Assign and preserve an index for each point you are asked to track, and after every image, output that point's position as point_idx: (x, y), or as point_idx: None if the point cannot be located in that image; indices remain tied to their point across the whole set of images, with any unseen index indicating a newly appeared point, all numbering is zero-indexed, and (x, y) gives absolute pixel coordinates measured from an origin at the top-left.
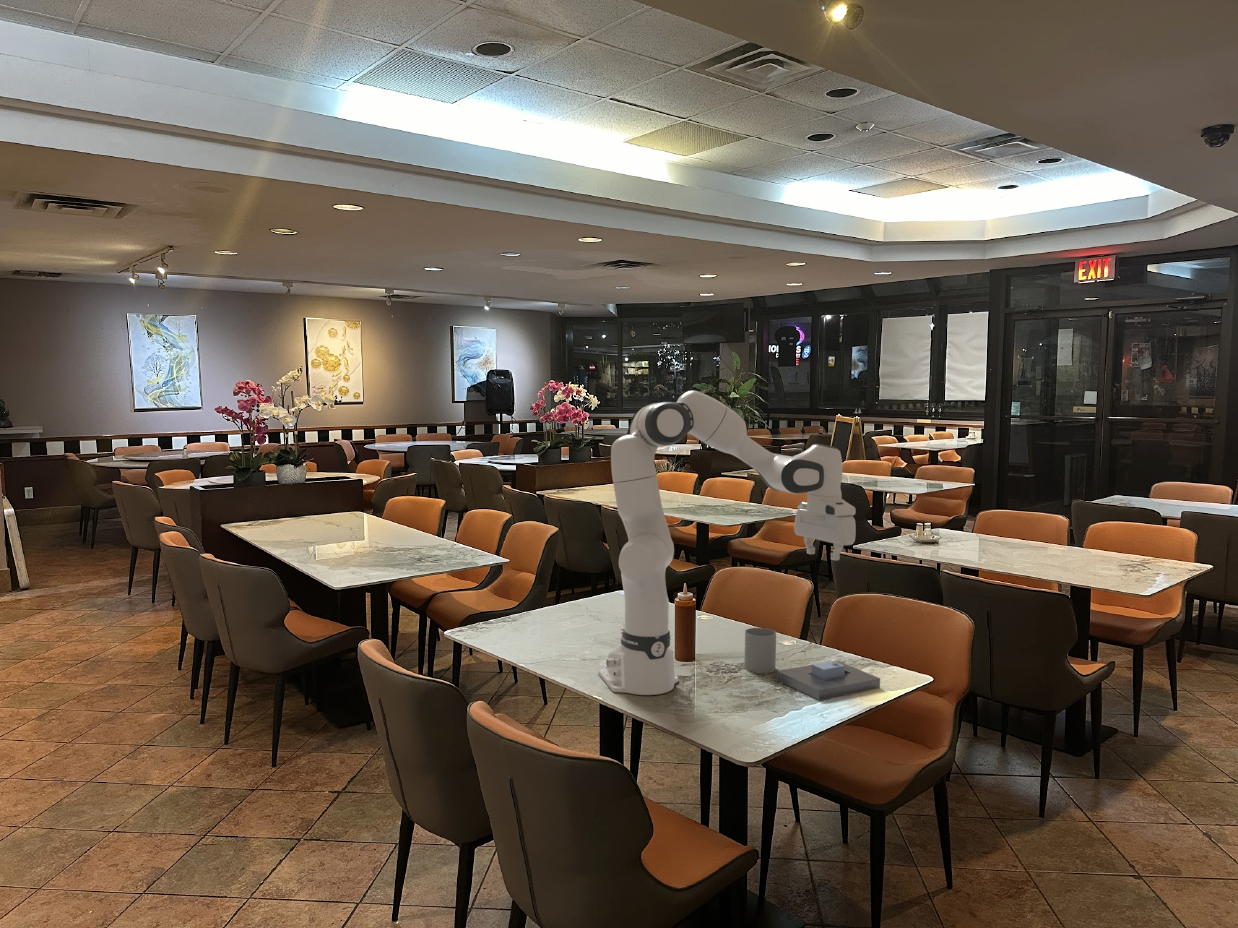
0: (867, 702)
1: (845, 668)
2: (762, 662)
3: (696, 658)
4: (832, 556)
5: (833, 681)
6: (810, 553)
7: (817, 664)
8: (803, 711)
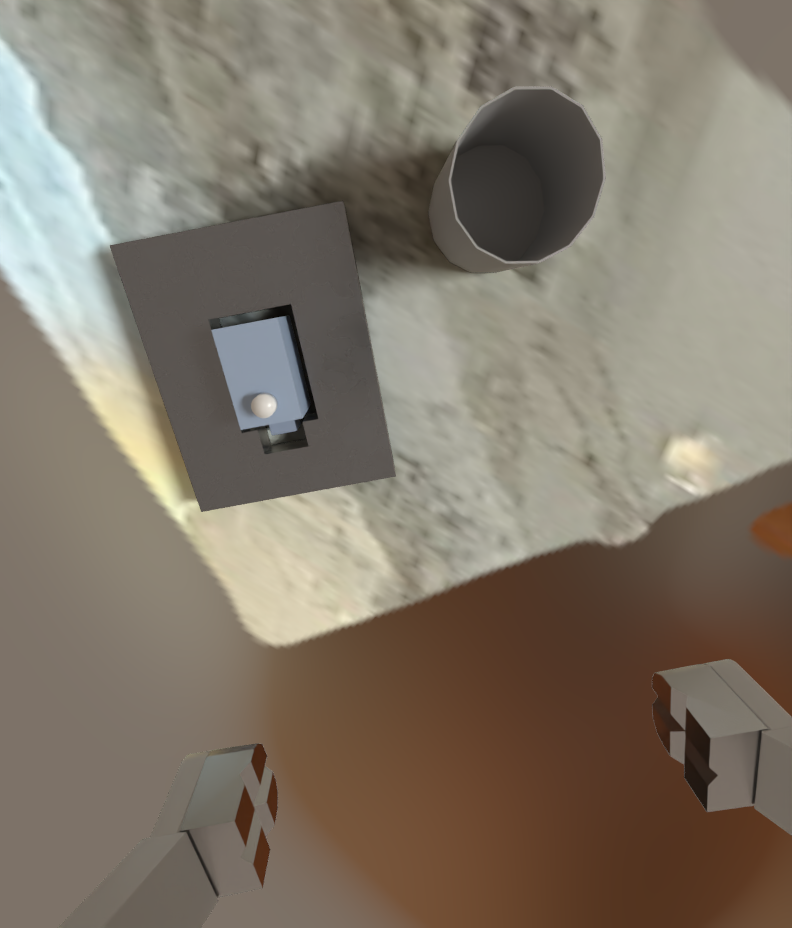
0: (96, 395)
1: (311, 460)
2: (437, 182)
3: None
4: (210, 782)
5: (193, 349)
6: (660, 678)
7: (273, 339)
8: (27, 129)
